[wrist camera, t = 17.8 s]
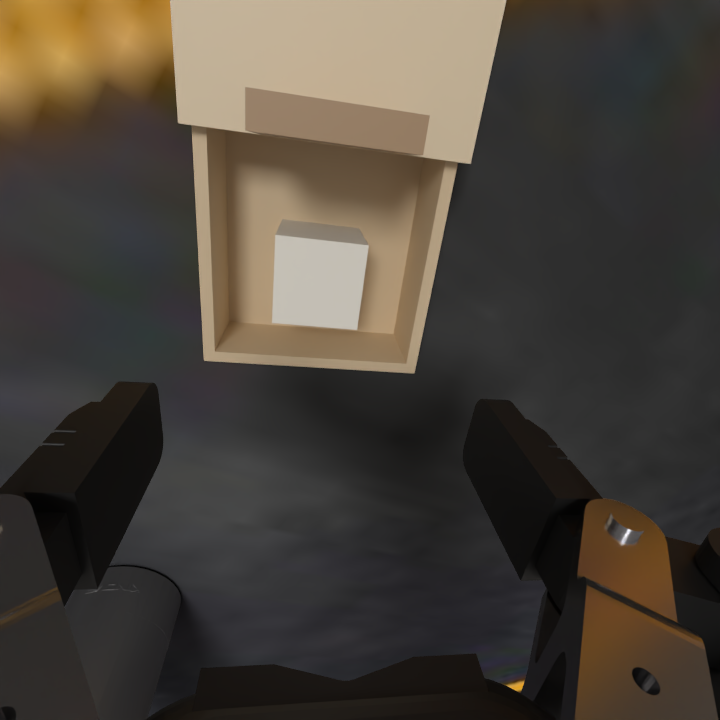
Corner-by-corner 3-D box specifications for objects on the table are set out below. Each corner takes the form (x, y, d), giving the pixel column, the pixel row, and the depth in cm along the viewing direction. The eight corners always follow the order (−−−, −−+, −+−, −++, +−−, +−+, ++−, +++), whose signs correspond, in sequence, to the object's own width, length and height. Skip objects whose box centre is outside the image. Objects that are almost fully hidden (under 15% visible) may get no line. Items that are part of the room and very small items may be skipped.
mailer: (399, 338, 29) (414, 373, 24) (221, 326, 27) (203, 360, 23) (457, 16, 21) (495, -20, 16) (211, -32, 19) (180, -86, 15)
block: (349, 299, 27) (357, 329, 22) (279, 293, 26) (272, 323, 21) (358, 227, 25) (368, 245, 20) (282, 218, 24) (275, 234, 19)
